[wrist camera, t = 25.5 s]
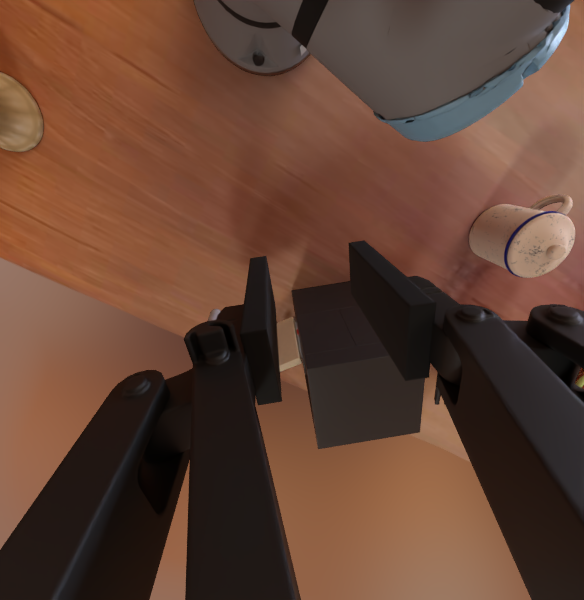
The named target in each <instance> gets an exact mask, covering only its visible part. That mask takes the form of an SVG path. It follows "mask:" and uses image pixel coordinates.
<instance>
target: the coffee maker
mask: <svg viewBox="0 0 584 600" xmlns="http://www.w3.org/2000/svg"><path fill="white" fill-rule="evenodd" d="M292 297H293V304H294V310H295V317H294V320H295V325H296V330H297V336H298V342H299V347H300V353H301V358H302V362H303V367H304V373H305V378H306V384H307V389H308V395H309V400H310V406H311V412H312V417H313V423H314V428H315V434H316V439H317V445H318V449H322V448H328V447H333V446H340V445H346V444H352V443H358V442H364V441H370V440H376V439H382V438H388V437H394V436H400V435H406V434H412V433H418V432H420V424H421V414H422V403H423V393H424V382H425V378H422V379H416V380H410V381H405V380H404V378H403V377H402V375H401V373H400V372H399V370H398V368H397V367H396V365H395V364H394V362H393V360H392V359H391V357H390V356H389V354H388V352H387V351H386V349H385V348H384V346H383V344H382V343H381V341H380V339H379V338H378V336H377V335H376V333H375V331H374V330H373V328H372V327H371V325H370V323H369V322H368V320H367V319H366V317H365V315H364V314H363V312H362V310H361V309H360V307H359V306H358V304H357V302H356V301H355V299H354V298H353V296H352V294H351V281H348V282H342V283H336V284H329V285H323V286H317V287H310V288H304V289H298V290H292Z"/></svg>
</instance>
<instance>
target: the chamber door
mask: <svg viewBox="0 0 584 600" xmlns="http://www.w3.org/2000/svg"><path fill="white" fill-rule="evenodd" d="M220 312H221V311H220V310H218V309H214V310H212V311H211V312H210V315H209V318H208V321H211V320H216V319H217V315H218V314H219V313H220ZM277 337H278V352H279V367H280V372H281V371H284V370H286V369H289V368H291V367H293V366H296V365H298V364H301V363H302V359H301V353H300V347H299V342H298V336H297V330H296V325H295V320H294V318H293V317H290V318H288V319H285V320H283V321H281V322H278V323H277Z"/></svg>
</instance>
